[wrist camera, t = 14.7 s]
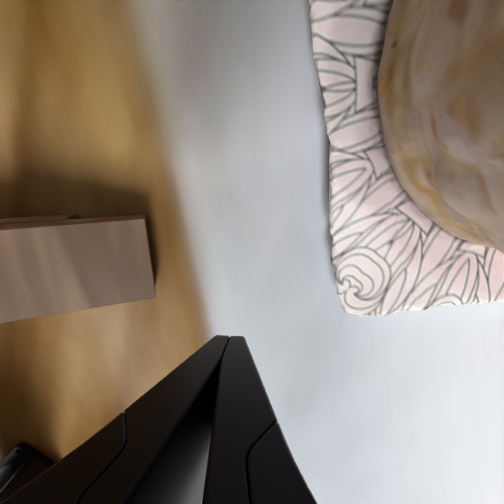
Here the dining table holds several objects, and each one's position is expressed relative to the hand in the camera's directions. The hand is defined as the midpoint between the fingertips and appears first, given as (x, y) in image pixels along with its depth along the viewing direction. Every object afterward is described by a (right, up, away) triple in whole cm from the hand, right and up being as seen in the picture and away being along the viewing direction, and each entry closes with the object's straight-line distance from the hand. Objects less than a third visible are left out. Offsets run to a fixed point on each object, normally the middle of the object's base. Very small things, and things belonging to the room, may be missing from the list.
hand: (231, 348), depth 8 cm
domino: (-6, +3, +9) cm, 11 cm away
